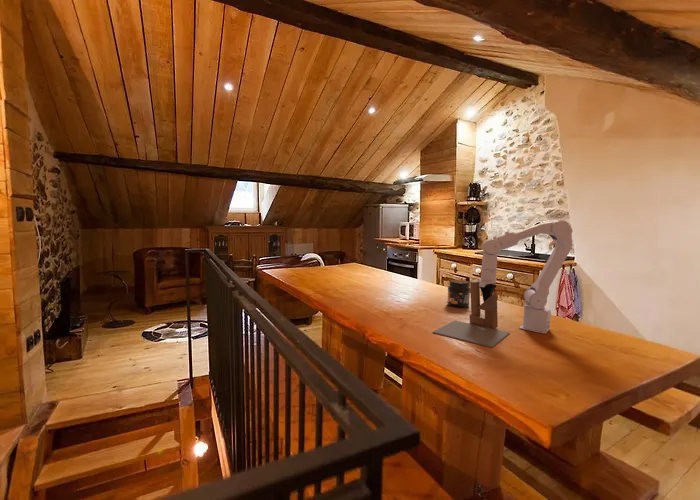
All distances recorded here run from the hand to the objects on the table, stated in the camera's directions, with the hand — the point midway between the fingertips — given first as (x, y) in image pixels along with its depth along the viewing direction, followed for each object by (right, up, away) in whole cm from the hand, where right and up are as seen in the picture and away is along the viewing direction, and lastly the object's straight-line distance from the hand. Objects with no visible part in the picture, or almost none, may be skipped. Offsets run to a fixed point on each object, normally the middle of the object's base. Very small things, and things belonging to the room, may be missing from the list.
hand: (486, 302), depth 150 cm
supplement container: (-3, -6, +31) cm, 32 cm away
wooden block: (-1, -9, 0) cm, 9 cm away
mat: (-10, -10, -10) cm, 18 cm away
